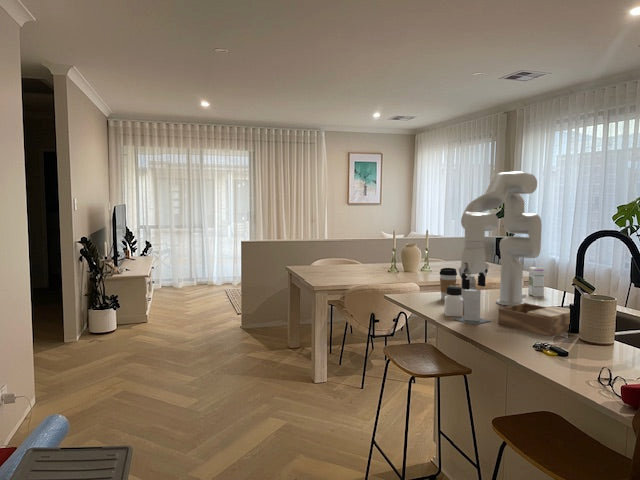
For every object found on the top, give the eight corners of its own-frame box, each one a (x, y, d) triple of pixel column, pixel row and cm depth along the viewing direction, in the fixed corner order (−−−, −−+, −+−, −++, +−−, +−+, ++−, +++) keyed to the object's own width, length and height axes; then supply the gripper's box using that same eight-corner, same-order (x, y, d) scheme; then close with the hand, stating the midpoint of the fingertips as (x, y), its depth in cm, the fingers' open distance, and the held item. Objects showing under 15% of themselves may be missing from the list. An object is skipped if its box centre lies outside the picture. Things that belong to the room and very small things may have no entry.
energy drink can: (470, 307, 212) (471, 274, 211) (477, 310, 206) (478, 276, 205) (458, 308, 211) (459, 275, 210) (464, 311, 205) (465, 277, 204)
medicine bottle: (463, 317, 195) (463, 288, 194) (445, 316, 196) (445, 287, 195) (461, 313, 202) (462, 285, 201) (444, 312, 203) (444, 284, 202)
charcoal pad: (469, 316, 196) (469, 315, 196) (490, 321, 188) (490, 320, 188) (453, 319, 190) (453, 318, 190) (474, 325, 182) (474, 324, 182)
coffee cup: (458, 298, 232) (459, 268, 231) (453, 301, 225) (454, 270, 224) (441, 296, 237) (442, 267, 236) (436, 299, 230) (437, 269, 228)
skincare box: (480, 319, 190) (481, 289, 189) (479, 321, 186) (480, 291, 185) (464, 317, 192) (465, 288, 191) (463, 320, 188) (464, 290, 187)
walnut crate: (525, 317, 195) (525, 300, 194) (576, 328, 177) (577, 310, 177) (498, 323, 185) (498, 305, 184) (549, 336, 167) (550, 316, 167)
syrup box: (544, 296, 239) (545, 268, 238) (532, 296, 239) (533, 268, 238) (539, 294, 245) (540, 266, 244) (527, 294, 245) (528, 266, 244)
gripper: (480, 242, 195) (479, 283, 196) (452, 245, 185) (451, 288, 187) (496, 244, 188) (495, 286, 190) (467, 247, 179) (467, 292, 180)
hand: (473, 287), depth 188 cm, fingers open, 9 cm apart
